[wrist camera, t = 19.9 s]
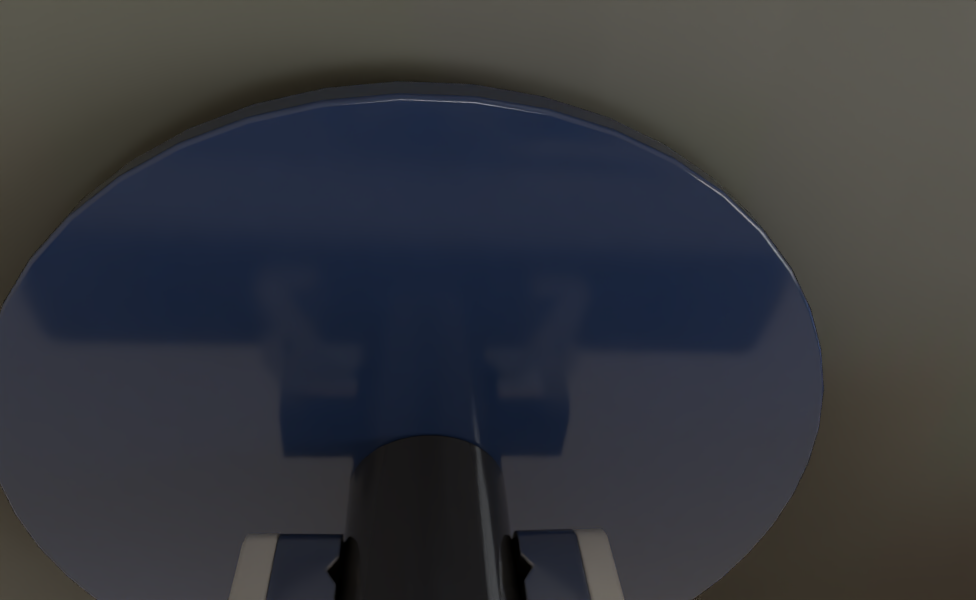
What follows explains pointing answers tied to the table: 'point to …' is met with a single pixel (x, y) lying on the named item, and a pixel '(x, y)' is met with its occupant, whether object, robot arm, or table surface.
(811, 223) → the table surface
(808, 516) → the table surface
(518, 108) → the lid
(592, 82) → the table surface
